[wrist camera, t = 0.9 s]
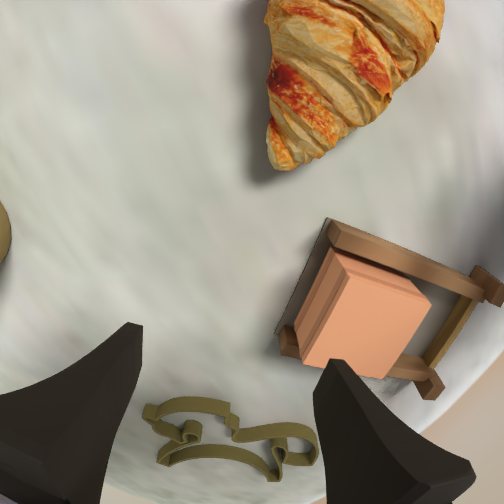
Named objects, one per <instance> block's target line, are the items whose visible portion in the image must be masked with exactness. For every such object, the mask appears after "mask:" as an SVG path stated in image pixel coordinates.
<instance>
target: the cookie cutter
mask: <svg viewBox="0 0 504 504" xmlns="http://www.w3.org/2000/svg"><path fill="white" fill-rule="evenodd" d="M175 412H201V413H208V414H213V415H218V416H223V417H224V424H225V425H226V426H227V427H229V428H231V429H232V441H234V442H237V443H246V442H253V441H259V440H265V439H270V443H271V452H272V454H273V456H274V458H275V460H276V462H277V464H278V467H279V468H278V470H269V467H268V465H267V464H266V462H265V461H264V460H263V459H262V458H260V457H259V456H258V455H256V454H254V453H252V452H250V451H247V450H245V449H241V448H238V447H233V446H227V445H216V444H208V445H197V446H191V447H187V448H184V449H181V450H178V451H176V452H174V453H172V452H173V451H175V450H177V449H179V448H182V447H184V446H187V445H191V444H194V443H199V442H200V441H201V434H202V424H201V423H200V422H198V421H195V420H187V421H185V424H184V430H181V429H179V428H178V427H176V426H175V425H173V424H170V423H167V422H164V421H162V420H160V418H162V417H163V416H165V415H168V414H171V413H175ZM142 418H143V419H144V420H145V421H146V422H147V423H149V424H150V425H152V429H153V430H154V432H156V433H157V434H159V435H162V436H165V437H169V438H170V439H172V440H171V441H169V442H168V443H167V444H166V445H164V446H163V447H162V448H161V449H160V450H159V452H158V457H157V463H159V464H162V465H165V466H168V467H170V466H172V465H174V464H176V463H179V462H182V461H186V460H190V459H197V458H224V459H231V460H236V461H240V462H243V463H246V464H249V465H251V466H253V467H255V468H257V469H258V470H260V471H261V472H262V473H263V474H264V475H265V476H266V478H267V481H268V482H280V481H281V479H282V463H284V464H288V465H295V466H312V465H313V464H314V463H315V462H316V460H317V458H318V455H319V449H318V443H317V438H316V434H315V433H314V431H313V430H312V429H311V428H309V427H307V426H305V425H302V424H299V423H290V422H285V423H274V424H267V425H262V426H256V427H251V428H243V429H239V417H238V416H236V415H234V414H232V413H230V403H229V402H225V401H221V400H216V399H210V398H204V397H178V398H174V399H170V400H168V401H166V402H164V403H162V404H161V405H160V406H159V407H158V406H155V405H152V404H146V405H145V408H144V412H143V415H142ZM286 437H298V438H303V439H306V440H308V441H310V442H311V443H312V444H313V448H312V450H311V451H310V452H309V453H293V452H288V445H287V438H286ZM277 447H280V448H282V451H281V454H282V462H281V456H280V453H279V451H278V449H277ZM170 453H172V454H171V455H170Z"/></svg>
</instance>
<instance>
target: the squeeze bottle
mask: <svg viewBox="0 0 504 504" xmlns="http://www.w3.org/2000/svg"><path fill="white" fill-rule="evenodd" d="M10 242H11V228H10V223H9V219H8V216H7V212H6V210H5V209H4V207H3V205H2V204H1V202H0V264H1V262H2V260H3V259H4V257H5V255H6V254H7V252H8V249H9V246H10Z"/></svg>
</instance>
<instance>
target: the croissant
mask: <svg viewBox="0 0 504 504" xmlns="http://www.w3.org/2000/svg"><path fill="white" fill-rule="evenodd" d="M444 12H445V4H444V0H270V1H269V3H268V9H267V12H266V15H265V18H264V23H265V24H267V25H268V27H269V30H270V36H271V38H270V40H271V43H272V59H271V65H270V69H269V73H268V77H267V81H266V83H267V88H268V95H269V97H270V101H269V107H270V112H271V114H272V115H273V116H272V117H271V119H270V120H269V124H268V128H267V137H266V143H267V145H268V148H267V152H268V157H269V160H270V163H271V164H272V166H273V168H274V169H275V170H281V171H288V170H292V169H294V168H296V167H298V166H299V165H300V164H301V163H309V162H311V161H312V159H313V157H314V158H316V159H320V158H321V157H322V156H323V155H324V154H325V153H326V152H327V151H328V150H330V149H332V148H334V147H335V145H336V143H337V141H338V140H340V139H343V138H345V137H346V136H347V135H348V134H349V133H350V132H351V131H353V130H355V129H356V128H357V126H358V127H364V126H366V125H367V124H369V123H371V122H373V121H375V119H376V118H377V117H378V116H379V115H380V114H381V113H382V112H383V111H384V110H385V109H386V108H387V106H388V104H389V103H390V100H391V99H392V94H393V92H394V91H395V90H396V89H397V88H399V87H400V86H401V85H402V84H403V82H406V81H408V79H409V78H410V77H412V76H414V75H415V74H416V73H417V72H418V71H419V70H420V69H421V68H422V67H423V66H424V65H425V63H426V62H428V60H429V58H430V56H431V55H432V53H433V51H434V49H435V44H436V42H438V43H439V39H440V32H441V29H442V26H443V17H444Z"/></svg>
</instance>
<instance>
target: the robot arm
mask: <svg viewBox="0 0 504 504" xmlns="http://www.w3.org/2000/svg"><path fill="white" fill-rule="evenodd" d="M142 341H143V326H142V325H138V324H134V323H130V322H127V323H126V324H124V325H123V326H122V327H121V328H120V329H118V330H117V331H116V332H115V333H114V334H113V335H111V336H110V337H109V338H108V339H107V340H105V341H104V342H103V343H102V344H100V345H99V346H98V347H97V348H95V349H94V350H93V351H91V352H90V353H89V354H87V355H86V356H84V357H83V358H81V359H80V360H79V361H77V362H76V363H74V364H73V365H71V366H69V367H68V368H66V369H64V370H63V371H61V372H59V373H57V374H55V375H53V376H51V377H49V378H47V379H45V380H43V381H40V382H38V383H36V384H34V385H31V386H28V387H25V388H23V389H20V390H16V391H13V392H10V393H6V394H2V395H0V504H100V498H101V492H102V487H103V482H104V477H105V473H106V469H107V464H108V460H109V456H110V452H111V449H112V445H113V441H114V438H115V435H116V432H117V430H118V427H119V425H120V423H121V420H122V418H123V415H124V413H125V411H126V408H127V406H128V404H129V401H130V399H131V397H132V394H133V392H134V390H135V387H136V384H137V381H138V377H139V374H140V370H141V367H142ZM313 407H314V417H315V422H316V427H317V431H318V436H319V441H320V445H321V450H322V455H323V460H324V466H325V477H326V495H327V504H452V501H454V500H455V499H456V498H457V497H459V496H460V495H461V494H462V493H464V492H465V491H466V490H467V489H468V488H469V487H470V486H471V485H472V484H473V483H474V481H475V479H476V475H475V472H474V470H473V468H472V466H471V464H470V462H469V460H466V459H464V458H461V457H459V456H457V455H455V454H452V453H450V452H448V451H445V450H444V449H442V448H440V447H438V446H437V445H435V444H433V443H432V442H430V441H428V440H427V439H425V438H424V437H422V436H421V435H419V434H418V433H416V432H415V431H414V430H412V429H411V428H410V427H408V426H407V425H406V424H405V423H404V422H402V421H401V420H400V419H399V418H398V417H397V416H395V415H394V414H393V413H392V412H391V411H390V410H389V409H388V408H387V407H386V406H385V405H384V404H383V403H382V402H381V401H380V400H379V399H378V398H377V397H376V396H375V394H374V393H373V392H372V391H371V390H370V389H369V388H368V387H367V385H366V384H365V383H364V382H363V381H362V380H361V379H360V377H359V376H358V375H357V374H356V373H355V372H354V370H353V369H352V368H351V367H350V366H349V365H348V364H347V362H346V361H345V360H344V359H334V358H329V361H328V363H327V365H326V367H325V369H324V371H323V373H322V375H321V377H320V379H319V382H318V384H317V386H316V388H315V390H314V392H313Z"/></svg>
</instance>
